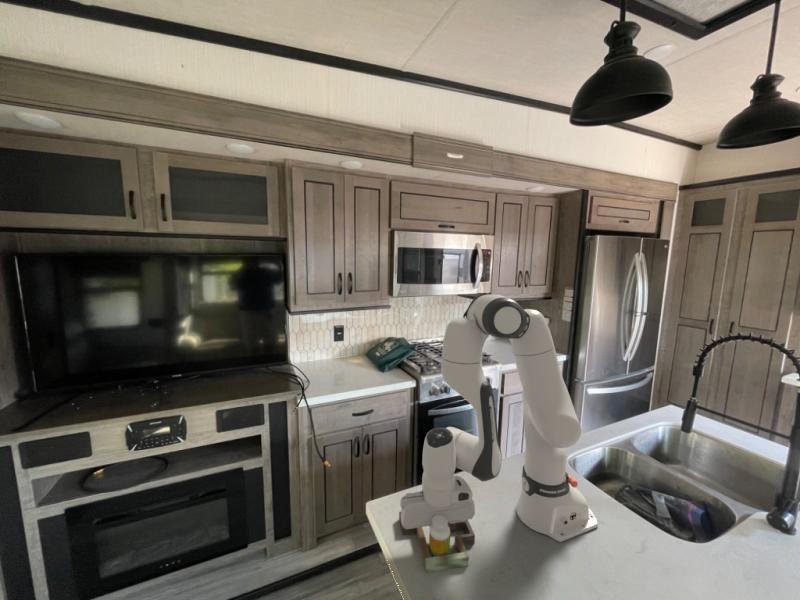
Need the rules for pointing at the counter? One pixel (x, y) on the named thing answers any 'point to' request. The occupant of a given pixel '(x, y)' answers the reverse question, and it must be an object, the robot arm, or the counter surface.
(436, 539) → the supplement bottle
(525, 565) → the counter surface
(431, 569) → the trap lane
